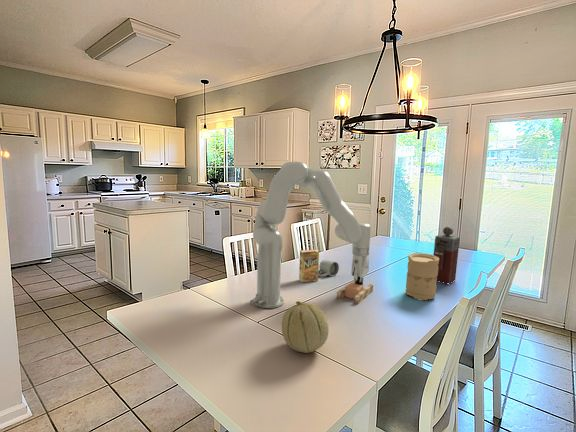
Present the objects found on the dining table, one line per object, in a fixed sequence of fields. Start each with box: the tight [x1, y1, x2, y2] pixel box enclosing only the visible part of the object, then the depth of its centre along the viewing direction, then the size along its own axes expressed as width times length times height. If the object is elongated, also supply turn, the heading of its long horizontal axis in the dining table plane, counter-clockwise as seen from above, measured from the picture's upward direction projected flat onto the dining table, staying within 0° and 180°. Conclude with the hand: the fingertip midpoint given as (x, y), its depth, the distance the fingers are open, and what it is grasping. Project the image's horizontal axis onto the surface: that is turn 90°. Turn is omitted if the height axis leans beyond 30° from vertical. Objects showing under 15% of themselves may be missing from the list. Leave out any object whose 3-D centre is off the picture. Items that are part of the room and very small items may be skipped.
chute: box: [336, 279, 374, 305], centre depth 146 cm, size 18×10×3 cm, turn 146°
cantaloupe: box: [281, 300, 330, 354], centre depth 101 cm, size 15×15×15 cm
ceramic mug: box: [318, 259, 340, 278], centre depth 172 cm, size 11×8×8 cm
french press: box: [433, 226, 461, 285], centre depth 165 cm, size 9×11×28 cm
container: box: [405, 252, 439, 301], centre depth 146 cm, size 13×13×18 cm
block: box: [344, 282, 364, 300], centre depth 145 cm, size 6×6×4 cm
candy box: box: [298, 249, 320, 283], centre depth 162 cm, size 9×4×15 cm, turn 107°
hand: (358, 289), depth 149 cm, fingers closed
